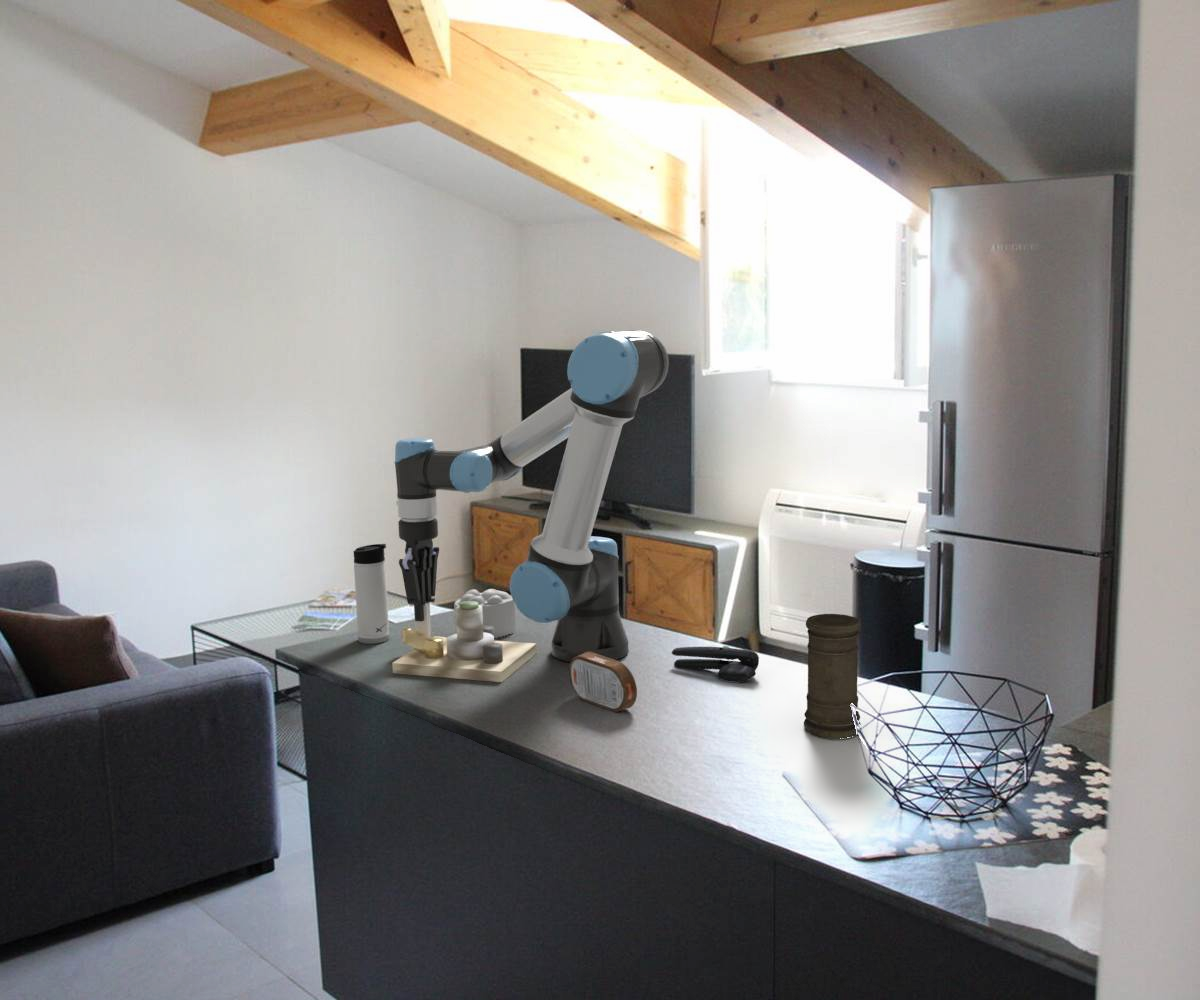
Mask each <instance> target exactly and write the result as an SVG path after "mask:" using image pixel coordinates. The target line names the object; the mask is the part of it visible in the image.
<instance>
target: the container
mask: <svg viewBox="0 0 1200 1000" xmlns="http://www.w3.org/2000/svg"><path fill="white" fill-rule="evenodd" d="M805 626H806V628H807V631H806V632H807V635H808V643H807V645H806V647H807V693H806V709H805V712H804V714H803V715H804V717H805V719H804V721H803V727H804V730H805V732H806V733H808V734H809V735H811V736H814V737H817V738H821V739H825V738H826V740H834V739H840V738H841V739H840V740H843V739H842V738H847V737H852V736H855V737H857V736H858V735H856V729H855V725H854V721H853V717H852V710H851V707H850V704H851V703H853V704H854V705H855V706H856V707H858V708H859V704H858V703H859V695H858V667H859V666H858V664H859V661H858V660H859V659H858V655H859V654H858V651H859V645H858V638H859V635H860V631H859V630H860V628H861V626H862V624H861V621H860V619H859V618H857V617H855V616H851V615H849V614H848V615H847V614H840V613H822V614H821V613H820V614H815V615H812V616H809V617H807V619H806V620H805ZM856 716H857V720H858V721H859V724H860V725H861V722H860V719H861V716H860V712H859V710H858V711H856ZM861 726H862V725H861ZM852 738H853V737H852Z"/></svg>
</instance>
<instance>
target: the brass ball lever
mask: <svg viewBox="0 0 1200 1000" xmlns="http://www.w3.org/2000/svg"><path fill="white" fill-rule="evenodd" d="M441 637H442V636H438V637H434V636H431V635H430V636H427V635H425V634H423V633H420V632H418V631H416V630H415V629H413V627H409V626H406V627H402V628H401V639H402V640H401V641H402V644H403V645H407V646H409V647H412V648H413V649H415V648H416V649H418V650H421V651H423V652H425V657H428V658H437V657H441V656H443V655H444V647H443V638H441Z"/></svg>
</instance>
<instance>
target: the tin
mask: <svg viewBox="0 0 1200 1000" xmlns="http://www.w3.org/2000/svg"><path fill="white" fill-rule="evenodd" d="M569 680H570V685H571V688H572V689H573V691H574V692H575V694H576V695H577V696H578V697H579V698H580V699H581V700H583V701H585V702H587V703H590V704H592V705H595V706H598V707H600V708H603V709H605V710H608V711H611V712H615V713H616V712H618V713H619V712H622V711H624V710H626V709H630V708H632V707H633V706H634V705H635V703H636V701H637V696H638V688H637V683H636V680H635V678H634V675H633V673H632V672H631V670H630V669H629V667H627V666H626V665H625V664H624V663H622V661H621V662H620V661H618V660H613V659H610V658H607V657H604V656H601V655H598V654H596V653H593V652H585V653H583V654H581V655H579V656H576V657H575V658H573V659H572V661H571V662H569Z"/></svg>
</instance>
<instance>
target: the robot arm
mask: <svg viewBox="0 0 1200 1000" xmlns="http://www.w3.org/2000/svg"><path fill="white" fill-rule="evenodd" d="M669 361H670V360H669V354H668V353H667V348H666V347H665V345H664V344H663V343H662V342H661V341H660V339H659V338H658V337H657V336H655V335H654V334H652V333H650V332H647V331H643V330H626V331H610V330H609V331H603V332H598V333H596V334H593V335H590V336H588V337H585V338H584V339H583V340H581V341H580V342H579V343H578V344H577V345H576V346H575V348H573V351H571V355H570V357H569V360H568V362H567V380H568V381H569V383H570V388H569V389H568V390H566V391H564V392H563V393H562V394H560V395H559V396H557V397H556V398H554V399H553V400H552V401H550V402H548V403H547V404H545V405H544V406H542V407H541V408H540V409H538V410H536V411H535V412H534V413H532V414H530V415H529V416H527V418H525V419H524V420H523V419H522V421H520V422H519V423H518V424H516V425H514V426H513V427H512V428H510V429H508V430H507V431H505V432H504V433H503V434H501V435H500V436H498V437H497V438H496V439H494V440H493V441H491V442H489V443H488V444H485V445H480V446H477V447H471V448H466V449H461V450H438V449H436V447H435V442H434V440H433V439H431V438H429V437H410V438H409V437H408V438H402V439H400V440H398V441H397V442H396V444H395V448H394V449H395V453H394V454H395V455H394V467H395V468H394V469H395V476H396V489H397V490H396V491H397V493H396V495H397V496H396V497H397V500H396V505H397V514H398V518H400V519H399V521H397V522H398V523H397V525H398V536H399V537H398V538H399V539H401V540H402V541H404V542H405V548H404V553H405V555H404V557H403V558H400V559H399V560H398V565H399V567H400V569H401V574H402V579H403V584H404V590H405V596H406V600H407V601H406V602H407V604H408V605H413V609H414V610H413V613H414V630H416V631H418V632H420V633H423V634H425V635H427V636H430V637H431V636H432V625H431V605H430V604H431V603H435V601H436V599H435V598H434V597H435V596H436V591H437V590H436V588H437V571H438V570H437V569H438V558H439V555H440V554H439V553H440V547H439V546H434V541H433V540H434V539H436V538H437V537H438V536H439V530H438V529H439V527H438V526H439V525H438V523H439V521H438V519H437V518H436V516H437V515H438V503H437V502H438V501H437V490H439V491H450V492H462V493H465V494H469V493H480V492H484V491H485V490H486V489H487V487H488V486H490V484H493V483H497V482H502V481H503V482H505V481H507V480H509V479H511V478H513V477H516V476H518V475H519V474H520V473H521V472H522V469H523V467H525V466H526V465H528V464H529V463H531V462H532V461H533V460H534V461H535V459H538V457H540V456H542V455H544V454H545V453H546V452H548V451H549V450H551V449H552V448H554V447H555V446H557V445H559V444H560V443H562V442H564V441H565V440H567V441H566V442H567V443H566V445H565V450H564V454H563V456H562V460H561V463H560V468H559V471H558V474H557V475H558V476H557V479H556V482H555V485H554V490H553V493H552V496H551V500H550V504H549V507H548V511H547V515H546V519H545V522H544V526H543V530H542V533H541V534H539V535H537V536H535V537H533V538H532V540H531V542H530V545H529V549H528V553H527V557H526V560H525V561H524V562H522V563H520V564H519V565H518V566H517V567H516V568H515V570H514V571H513V572H512V573H511V577H510V580H509V591H510V595H511V596H512V599H513V601H515V604H516V609H517V610H518V611H519V612H520V613H521V614H522V615H523V616H525V617H526V618H527V619H528V620H531V621H533V622H535V623H540V624H541V623H542V624H547V623H552V622H554V621H557V622H556V626H555V628H554V631H553V635H552V639H551V643H550V645H551V647H550V648H551V651H550V652H551V655H552V657H554V658H555V659H557V660H560V661H562V662H568V663H571V661H572V659H573V658H575V657H576V656H579V655H581V654H583V653H585V652H593V653H596V654H598V655H601V656H604V657H607V658H610V659H613V660H616V661H618V660H619V659H622V658H624V657H626V656H627V655H628V653H629V652H630V651H629V648H630V646H629V639H628V635H627V633H626V630H625V626H624V623H623V621H622V618H621V615H620V610H619V609H620V605H619V600H620V598H619V593H620V592H619V558H620V557H619V556H620V555H618V544H617V542H616V541H615V540H614V539H612V538H609V537H603V536H593V535H592V533H593V529H594V526H595V523H596V519H597V516H598V512H599V508H600V507H601V506H600V505H601V502H602V498H603V496H604V492H605V487H606V484H607V481H608V478H609V474H610V470H611V467H612V463H613V460H614V457H615V452H616V449H617V446H618V443H619V440H620V437H621V433H622V428H623V426H624V424H626V423H627V422H629V421H631V420H633V419H634V418H635V416H636V415H635V414H636V412H637V408H638V405H639V401H640V399H641V398H643V397H645V396H647V395H649V394H650V393H653V392H654V391H656V390H657V389H658V388H659V387H660V386H661V385H662V384H663V383H664V381H665V379H666V377H667V374H668V372H669Z"/></svg>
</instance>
